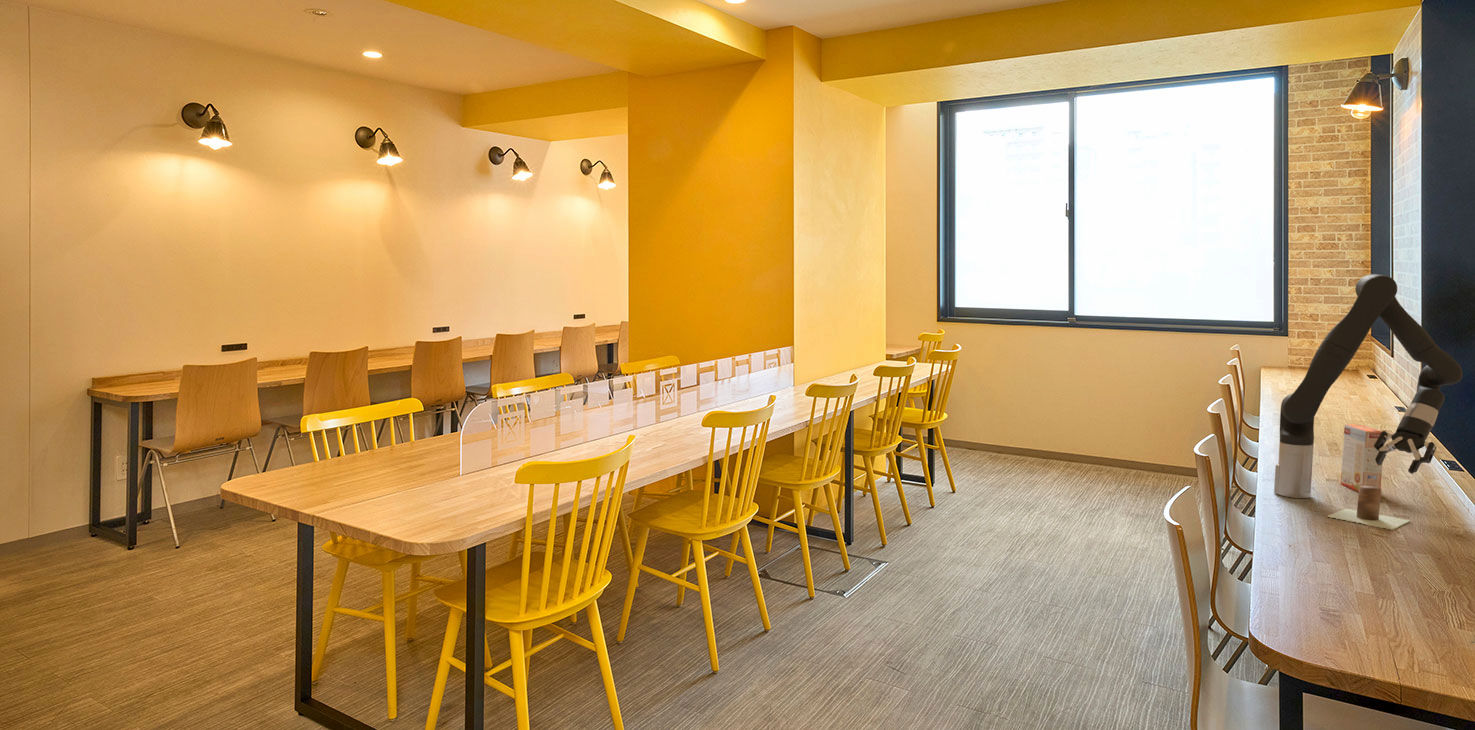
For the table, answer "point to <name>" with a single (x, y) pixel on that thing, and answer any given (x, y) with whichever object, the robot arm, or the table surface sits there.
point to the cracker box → (1360, 457)
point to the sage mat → (1381, 523)
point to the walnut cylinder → (1368, 502)
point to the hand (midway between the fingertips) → (1394, 468)
